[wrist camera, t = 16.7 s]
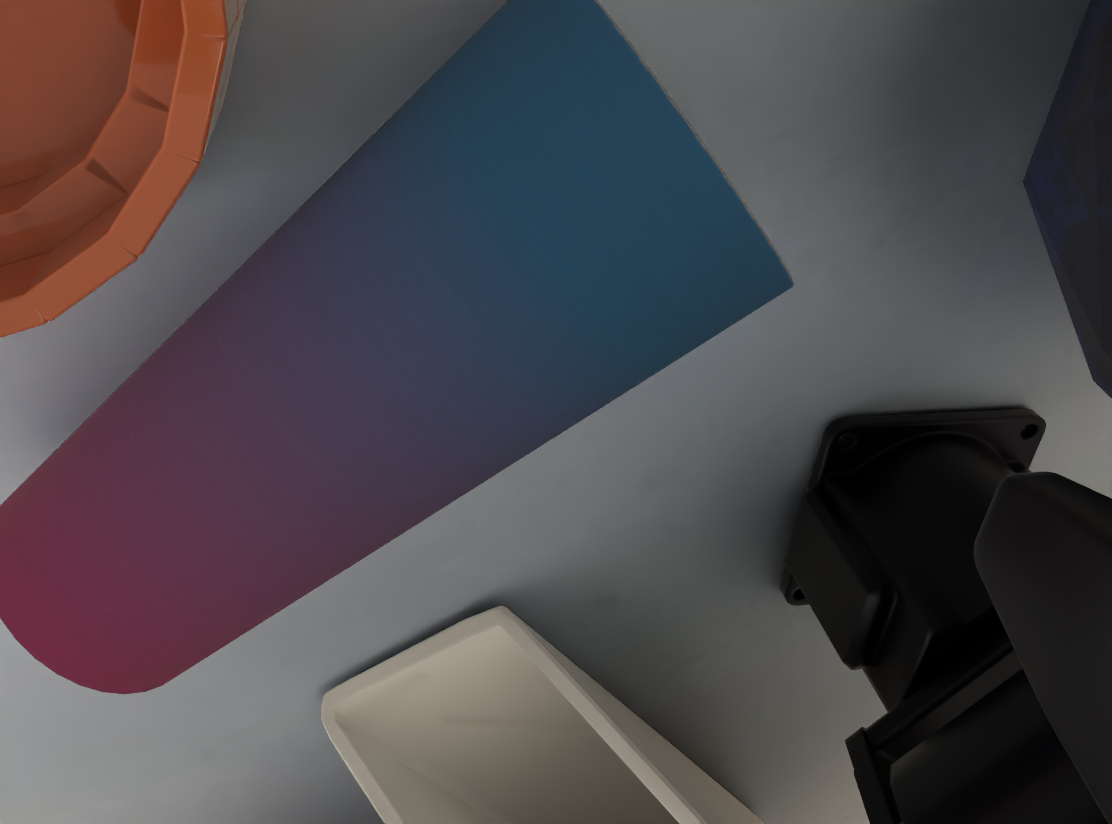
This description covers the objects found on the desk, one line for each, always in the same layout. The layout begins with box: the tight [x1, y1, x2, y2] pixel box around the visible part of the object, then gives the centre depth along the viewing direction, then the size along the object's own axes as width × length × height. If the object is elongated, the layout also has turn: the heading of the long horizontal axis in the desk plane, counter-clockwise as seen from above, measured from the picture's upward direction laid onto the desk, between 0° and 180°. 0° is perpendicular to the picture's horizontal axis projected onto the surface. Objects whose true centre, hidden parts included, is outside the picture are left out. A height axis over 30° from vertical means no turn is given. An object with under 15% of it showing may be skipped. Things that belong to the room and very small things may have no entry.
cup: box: [0, 0, 794, 694], centre depth 18 cm, size 7×7×15 cm
